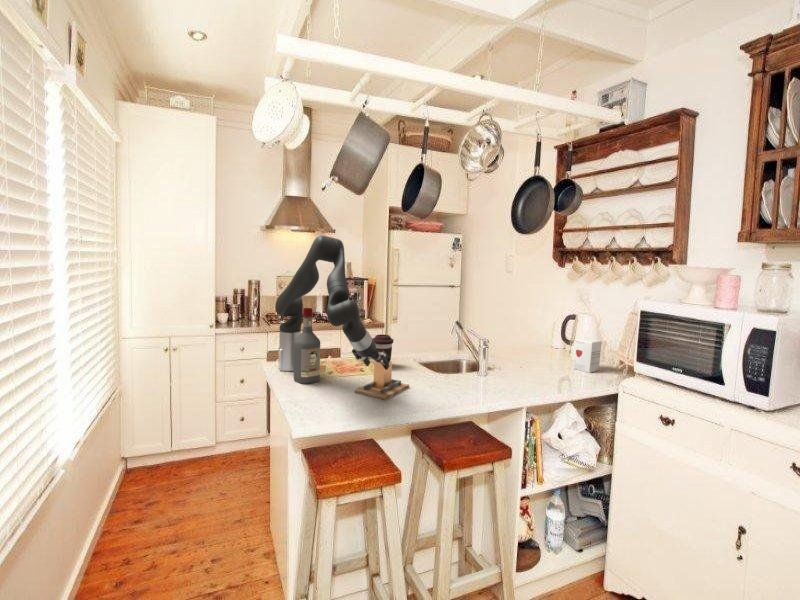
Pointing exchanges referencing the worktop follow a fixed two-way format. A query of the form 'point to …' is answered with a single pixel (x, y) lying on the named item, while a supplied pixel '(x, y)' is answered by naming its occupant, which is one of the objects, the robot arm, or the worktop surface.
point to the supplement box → (587, 355)
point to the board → (383, 393)
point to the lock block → (382, 375)
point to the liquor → (307, 352)
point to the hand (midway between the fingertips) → (377, 365)
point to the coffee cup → (383, 344)
